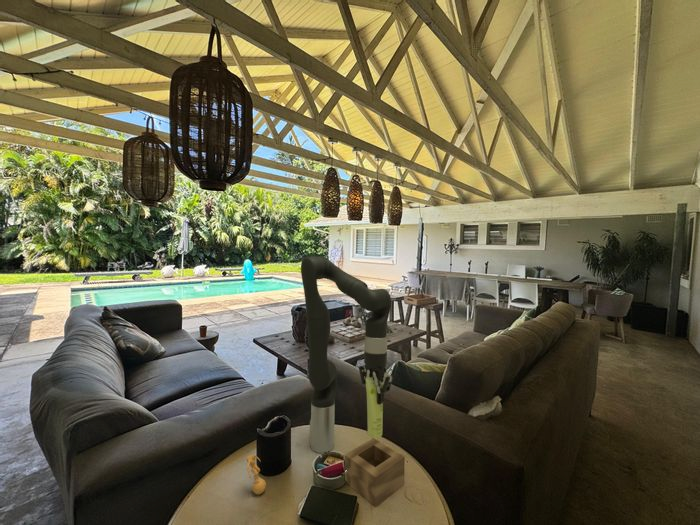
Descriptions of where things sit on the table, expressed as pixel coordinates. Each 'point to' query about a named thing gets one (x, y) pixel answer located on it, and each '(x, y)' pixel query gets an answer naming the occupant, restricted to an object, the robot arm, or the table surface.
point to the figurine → (259, 483)
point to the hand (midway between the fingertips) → (375, 400)
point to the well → (374, 471)
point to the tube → (373, 410)
